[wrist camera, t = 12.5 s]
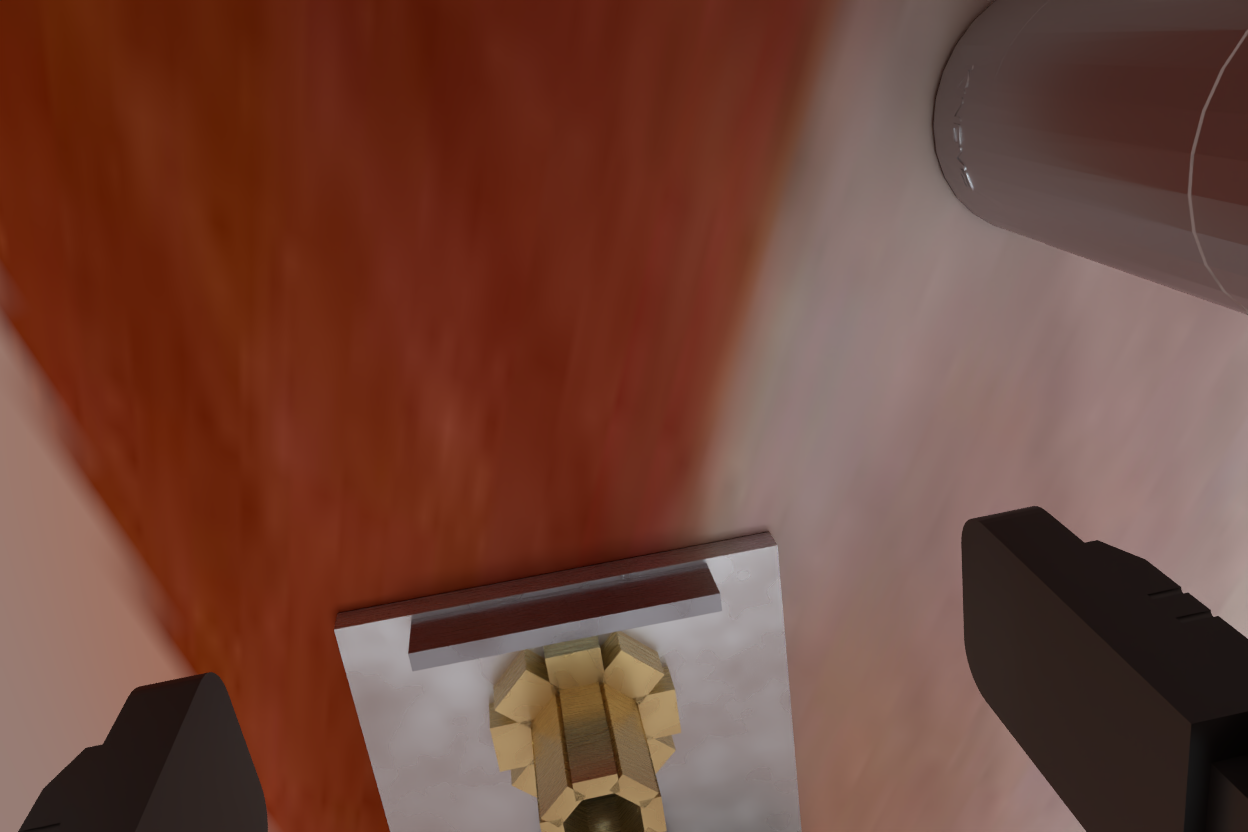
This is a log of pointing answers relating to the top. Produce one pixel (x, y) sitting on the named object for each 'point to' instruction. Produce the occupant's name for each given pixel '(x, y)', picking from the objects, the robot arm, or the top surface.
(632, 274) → the top surface
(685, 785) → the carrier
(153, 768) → the robot arm
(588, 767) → the gear
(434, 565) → the top surface
